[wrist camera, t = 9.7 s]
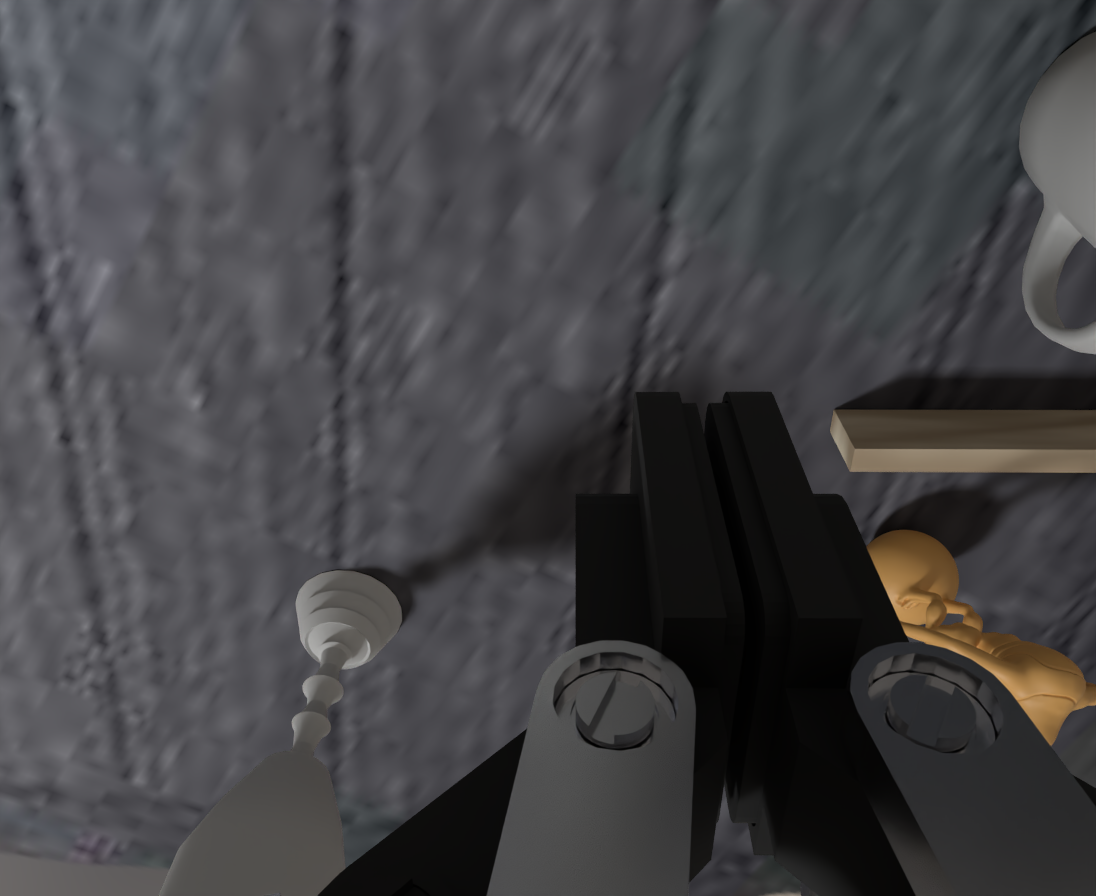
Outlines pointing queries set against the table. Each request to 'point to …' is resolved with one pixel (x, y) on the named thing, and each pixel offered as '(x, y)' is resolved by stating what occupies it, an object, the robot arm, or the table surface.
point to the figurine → (974, 630)
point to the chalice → (292, 764)
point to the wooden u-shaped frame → (966, 440)
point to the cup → (1061, 183)
